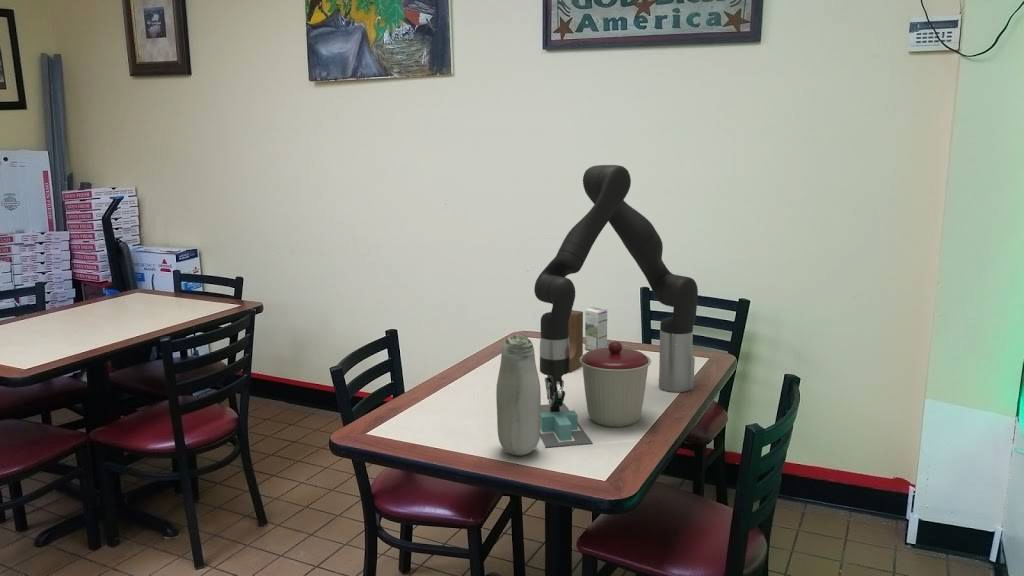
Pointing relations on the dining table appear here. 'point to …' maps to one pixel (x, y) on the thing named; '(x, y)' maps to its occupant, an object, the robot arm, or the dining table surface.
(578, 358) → the wooden block
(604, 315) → the syrup box
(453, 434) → the dining table surface
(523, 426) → the glass bottle
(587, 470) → the dining table surface
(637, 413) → the canister
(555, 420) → the t block
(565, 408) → the mat
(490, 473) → the dining table surface
